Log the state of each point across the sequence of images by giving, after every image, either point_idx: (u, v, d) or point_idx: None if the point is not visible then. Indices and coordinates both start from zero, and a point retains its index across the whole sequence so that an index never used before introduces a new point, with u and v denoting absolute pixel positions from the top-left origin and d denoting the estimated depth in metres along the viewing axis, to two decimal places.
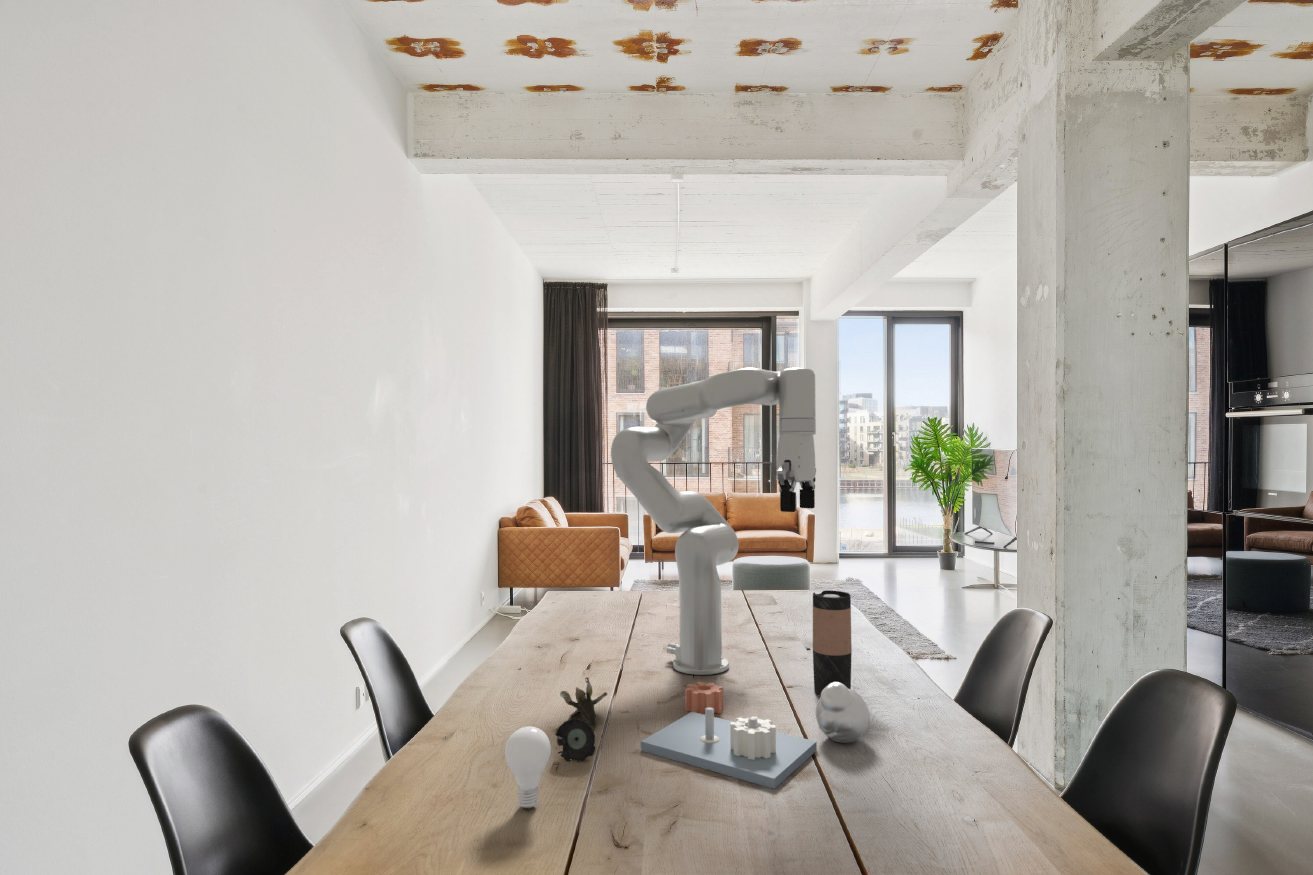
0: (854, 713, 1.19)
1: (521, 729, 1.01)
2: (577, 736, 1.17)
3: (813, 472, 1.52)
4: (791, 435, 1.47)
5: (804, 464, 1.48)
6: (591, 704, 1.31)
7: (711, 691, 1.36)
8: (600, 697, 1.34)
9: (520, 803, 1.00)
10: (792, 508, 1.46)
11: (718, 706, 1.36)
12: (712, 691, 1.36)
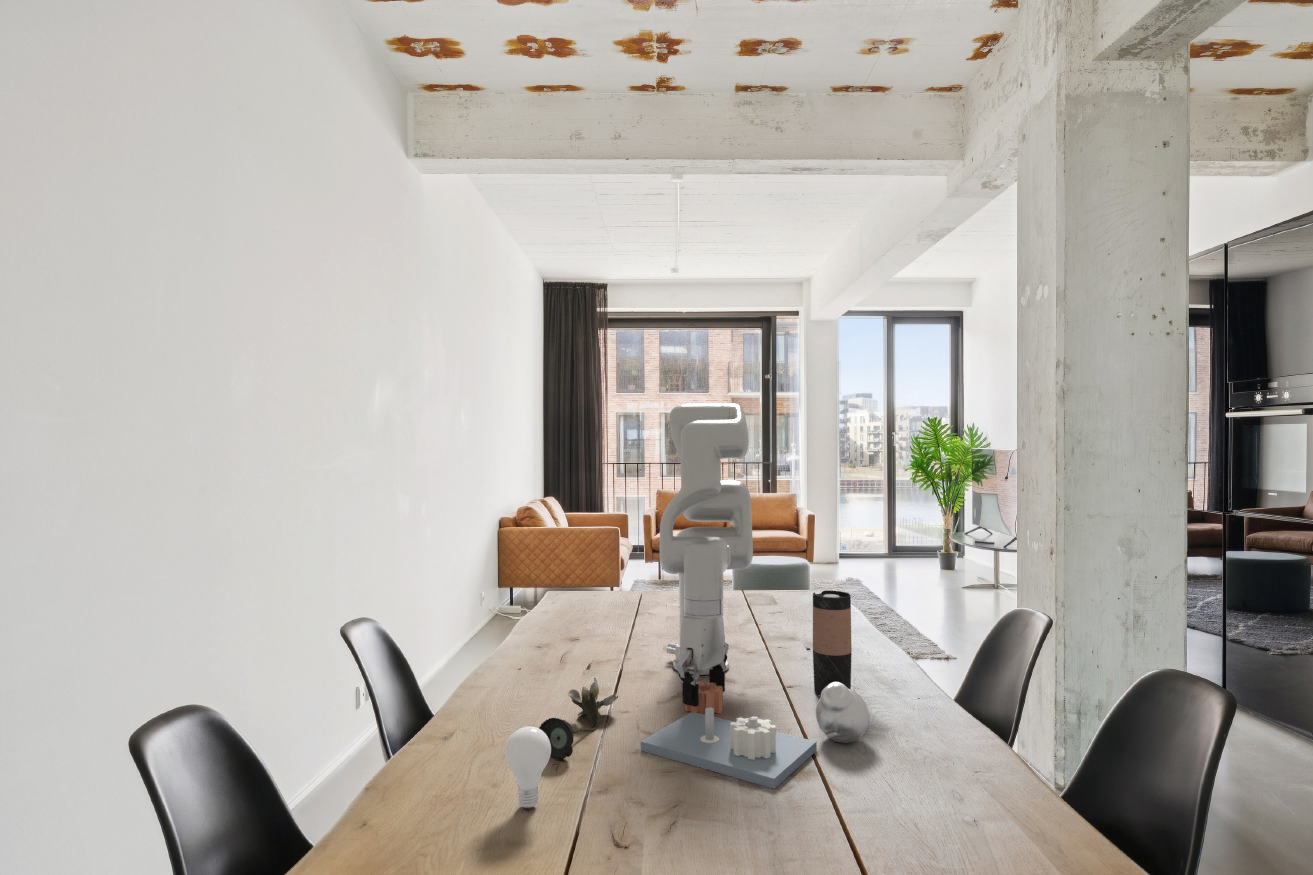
0: (854, 713, 1.19)
1: (521, 729, 1.01)
2: (559, 735, 1.18)
3: (722, 654, 1.39)
4: (694, 620, 1.34)
5: (709, 651, 1.35)
6: (595, 705, 1.31)
7: (711, 691, 1.36)
8: (608, 699, 1.33)
9: (520, 803, 1.00)
10: (694, 702, 1.33)
11: (718, 706, 1.36)
12: (712, 691, 1.36)
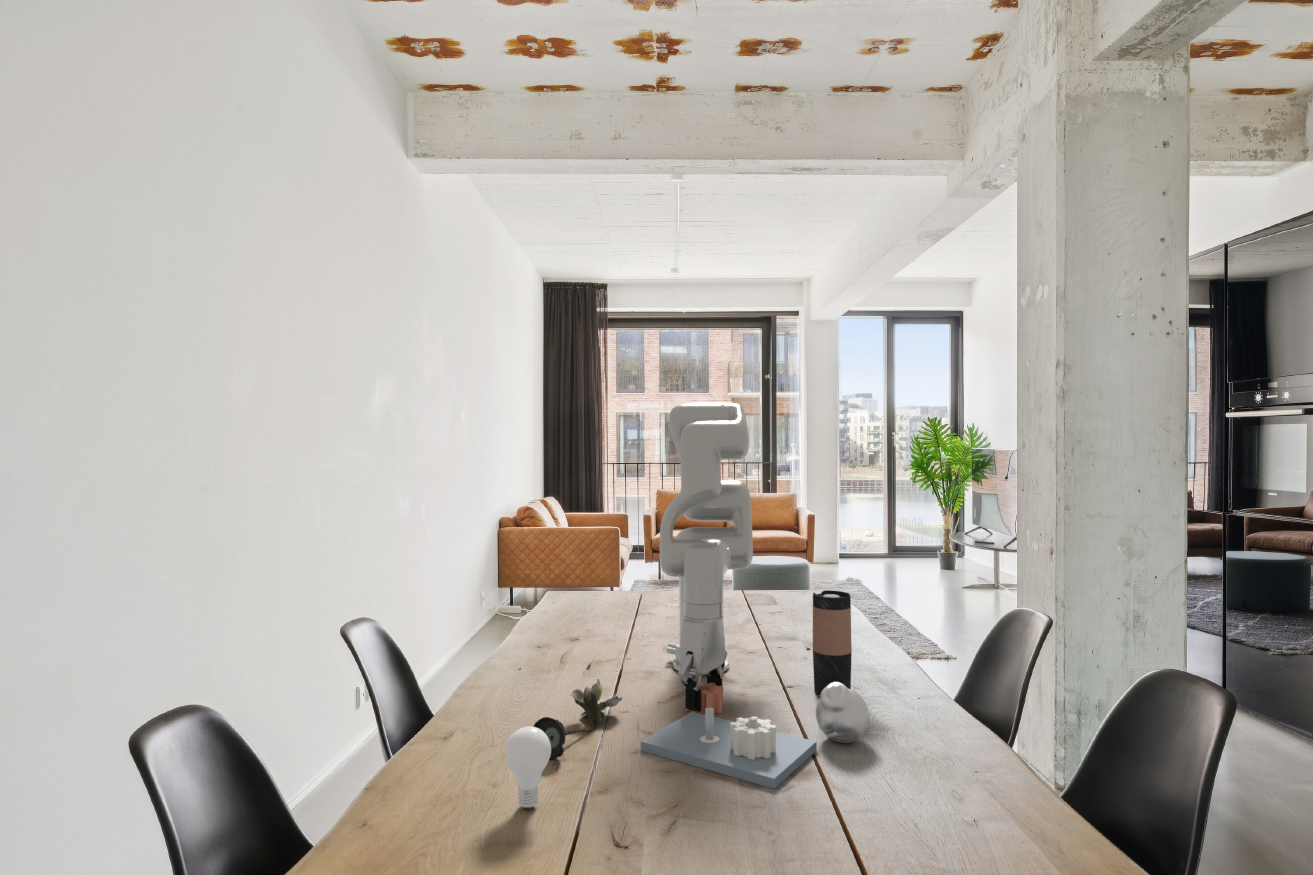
0: (854, 713, 1.19)
1: (521, 729, 1.01)
2: (552, 735, 1.18)
3: (722, 657, 1.40)
4: (694, 624, 1.34)
5: (709, 654, 1.35)
6: (596, 706, 1.30)
7: (711, 691, 1.36)
8: (610, 700, 1.33)
9: (520, 803, 1.00)
10: (697, 707, 1.34)
11: (718, 706, 1.36)
12: (712, 691, 1.36)
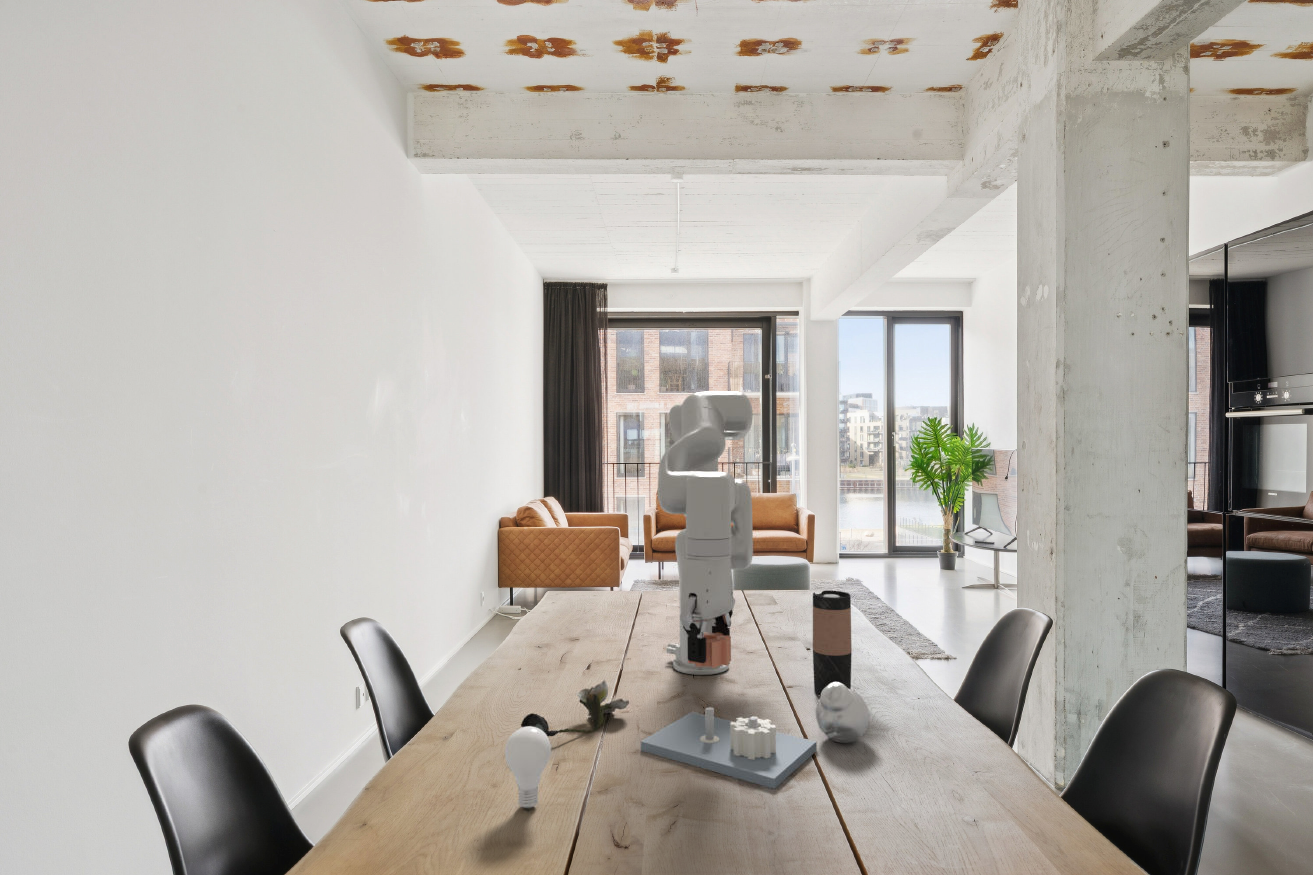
0: (854, 713, 1.19)
1: (521, 729, 1.01)
2: None
3: (729, 603, 1.22)
4: (698, 561, 1.16)
5: (715, 597, 1.17)
6: (598, 707, 1.30)
7: (717, 640, 1.18)
8: (615, 702, 1.31)
9: (520, 803, 1.00)
10: (701, 658, 1.16)
11: (725, 657, 1.18)
12: (718, 640, 1.18)
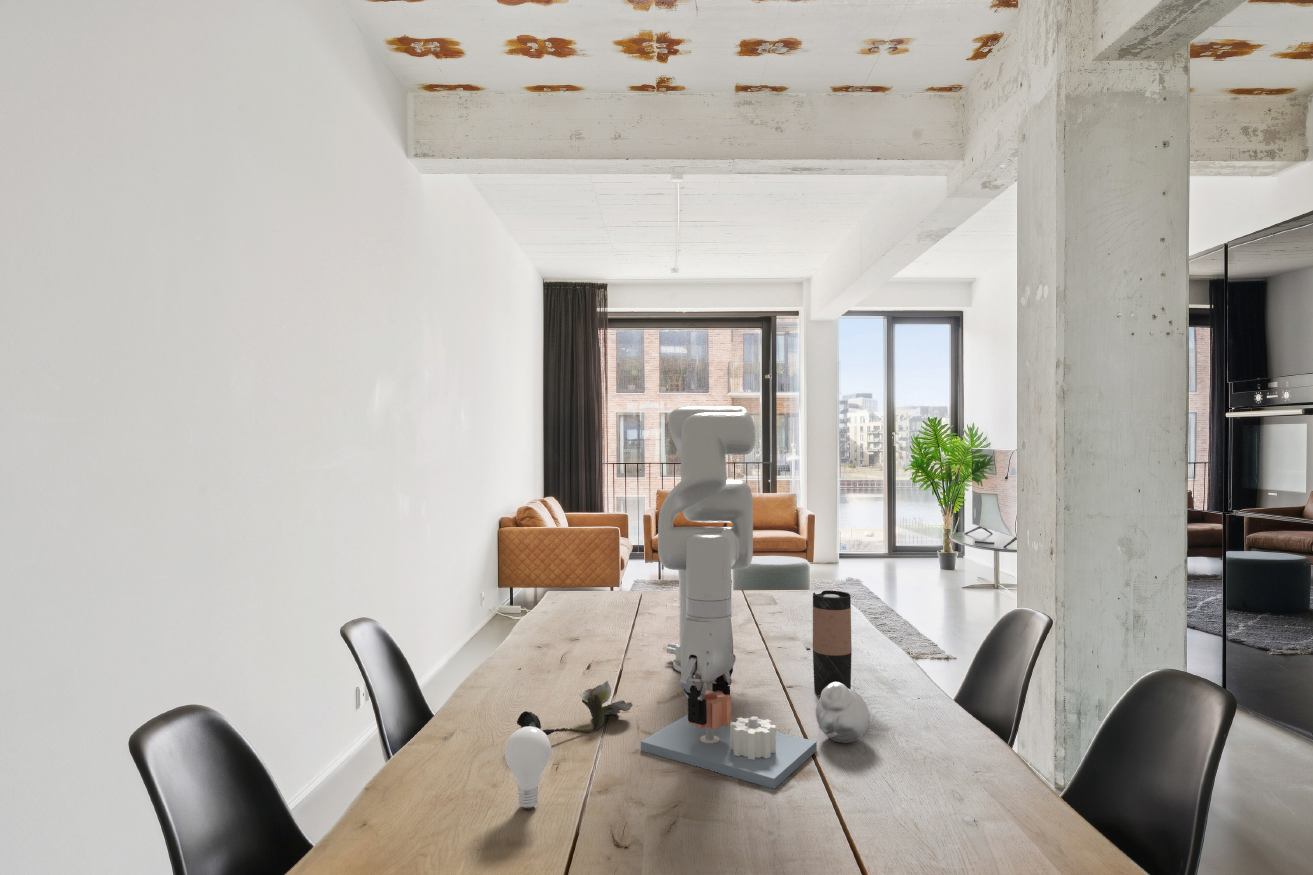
0: (854, 713, 1.19)
1: (521, 729, 1.01)
2: None
3: (730, 661, 1.22)
4: (698, 623, 1.16)
5: (715, 658, 1.17)
6: (599, 708, 1.29)
7: (718, 701, 1.18)
8: (617, 704, 1.31)
9: (520, 803, 1.00)
10: (702, 720, 1.16)
11: (726, 718, 1.17)
12: (719, 701, 1.18)
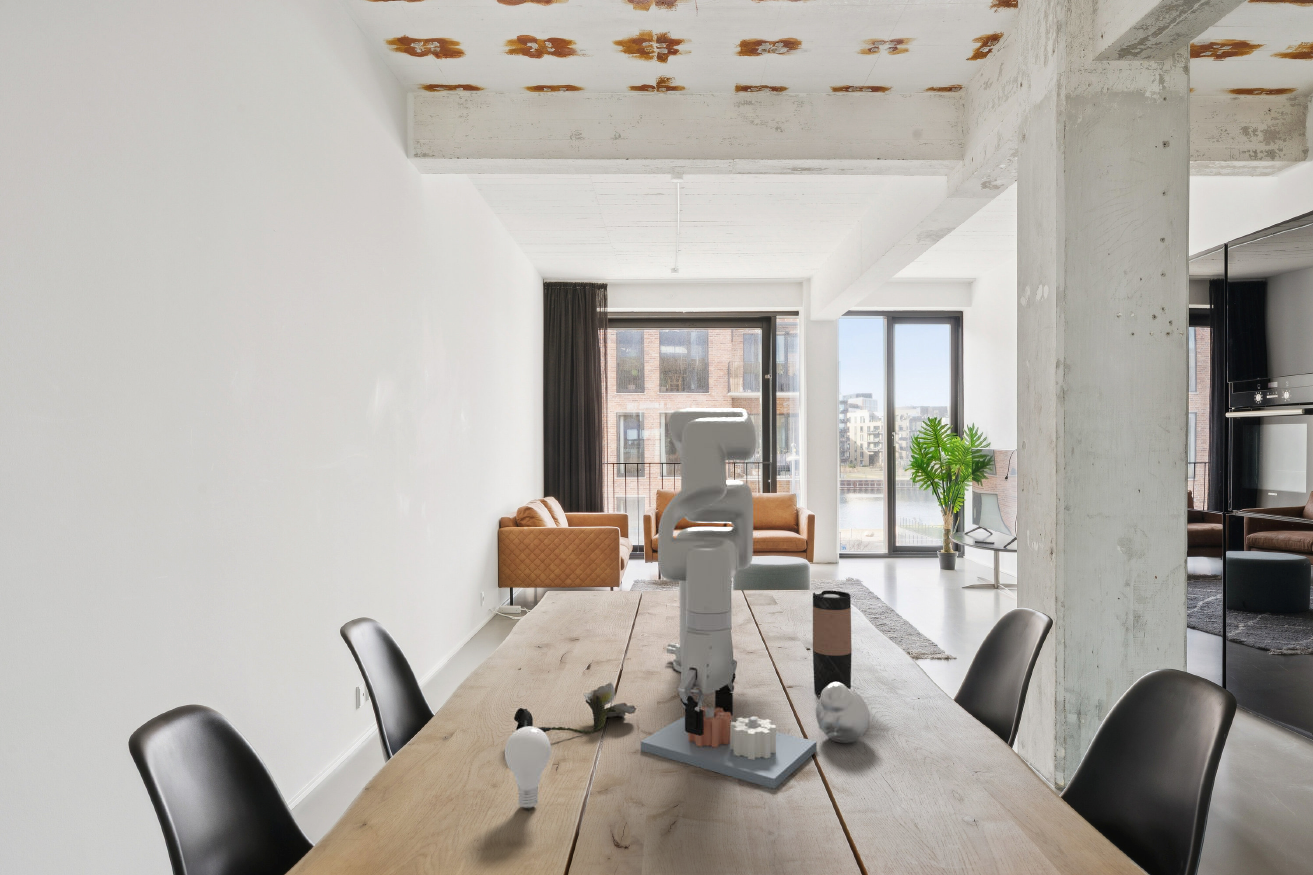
0: (854, 713, 1.19)
1: (521, 729, 1.01)
2: None
3: (730, 673, 1.22)
4: (698, 636, 1.16)
5: (715, 671, 1.17)
6: (600, 709, 1.29)
7: (718, 719, 1.18)
8: (619, 706, 1.29)
9: (520, 803, 1.00)
10: (699, 730, 1.15)
11: (726, 735, 1.18)
12: (719, 719, 1.18)
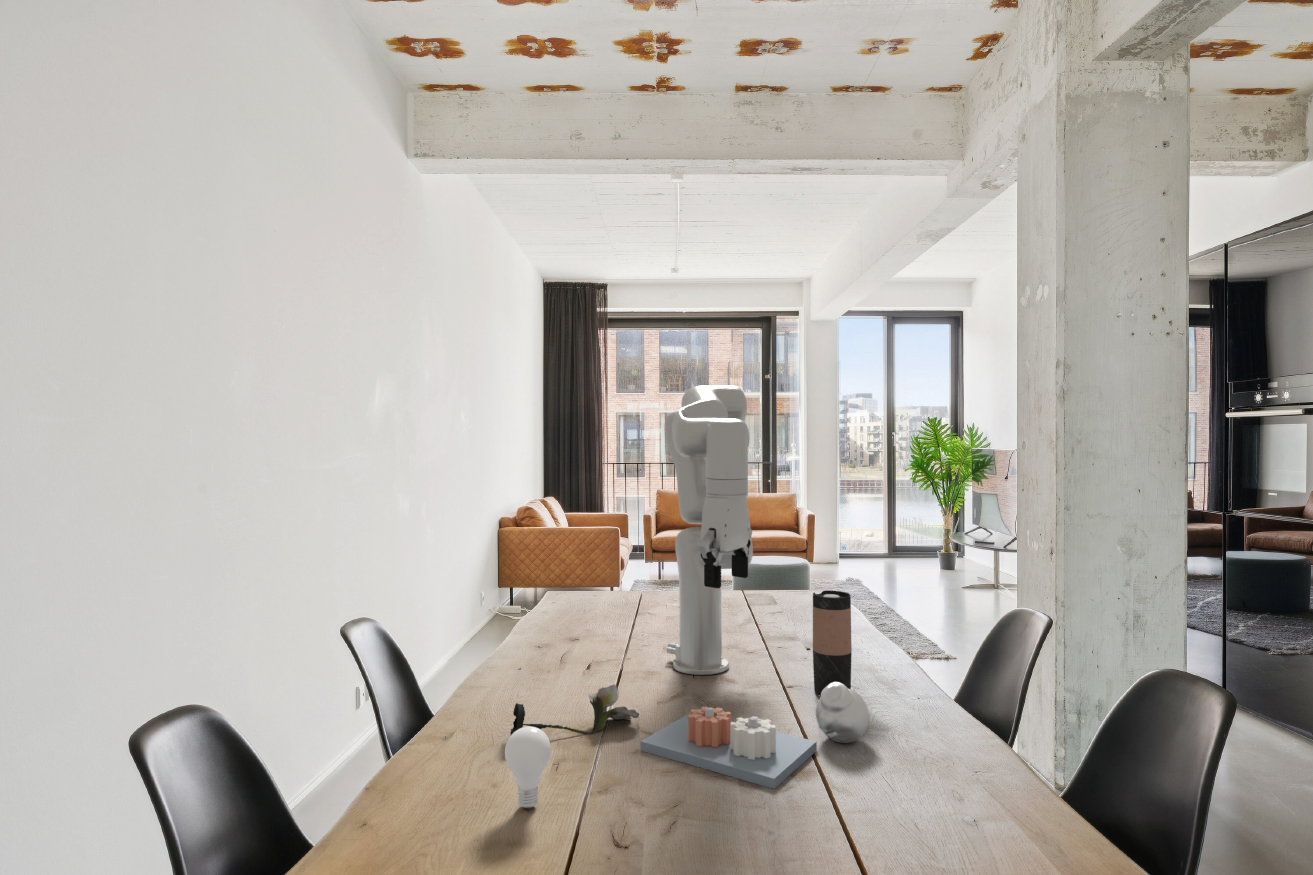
0: (854, 713, 1.19)
1: (521, 729, 1.01)
2: None
3: (745, 538, 1.33)
4: (717, 499, 1.27)
5: (732, 532, 1.28)
6: (600, 710, 1.28)
7: (718, 719, 1.18)
8: (620, 710, 1.28)
9: (520, 803, 1.00)
10: (717, 584, 1.27)
11: (726, 735, 1.18)
12: (719, 719, 1.18)
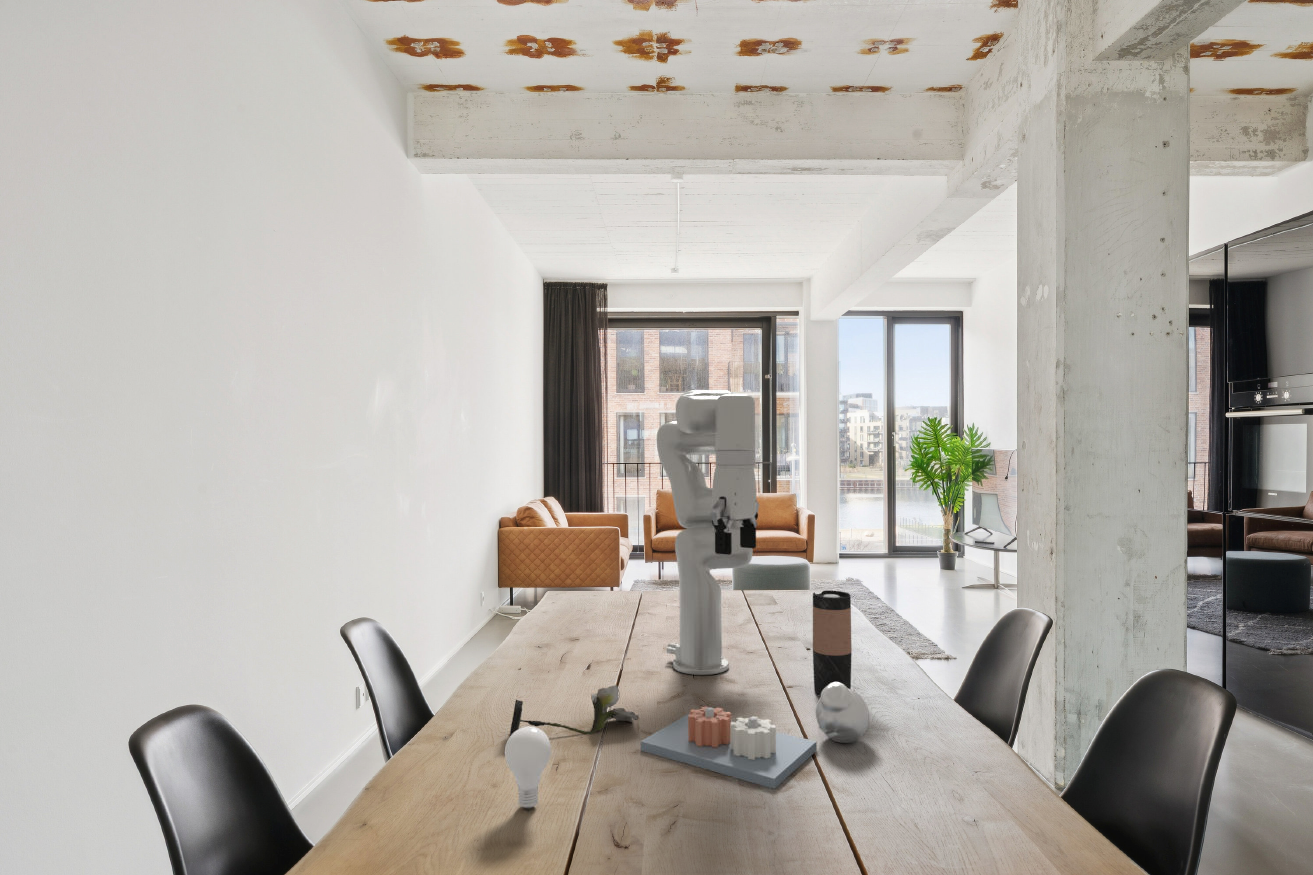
0: (854, 713, 1.19)
1: (521, 729, 1.01)
2: (520, 718, 1.25)
3: (754, 509, 1.38)
4: (727, 469, 1.33)
5: (742, 501, 1.34)
6: (600, 711, 1.28)
7: (718, 719, 1.18)
8: (619, 711, 1.27)
9: (520, 803, 1.00)
10: (727, 550, 1.32)
11: (726, 735, 1.18)
12: (719, 719, 1.18)
